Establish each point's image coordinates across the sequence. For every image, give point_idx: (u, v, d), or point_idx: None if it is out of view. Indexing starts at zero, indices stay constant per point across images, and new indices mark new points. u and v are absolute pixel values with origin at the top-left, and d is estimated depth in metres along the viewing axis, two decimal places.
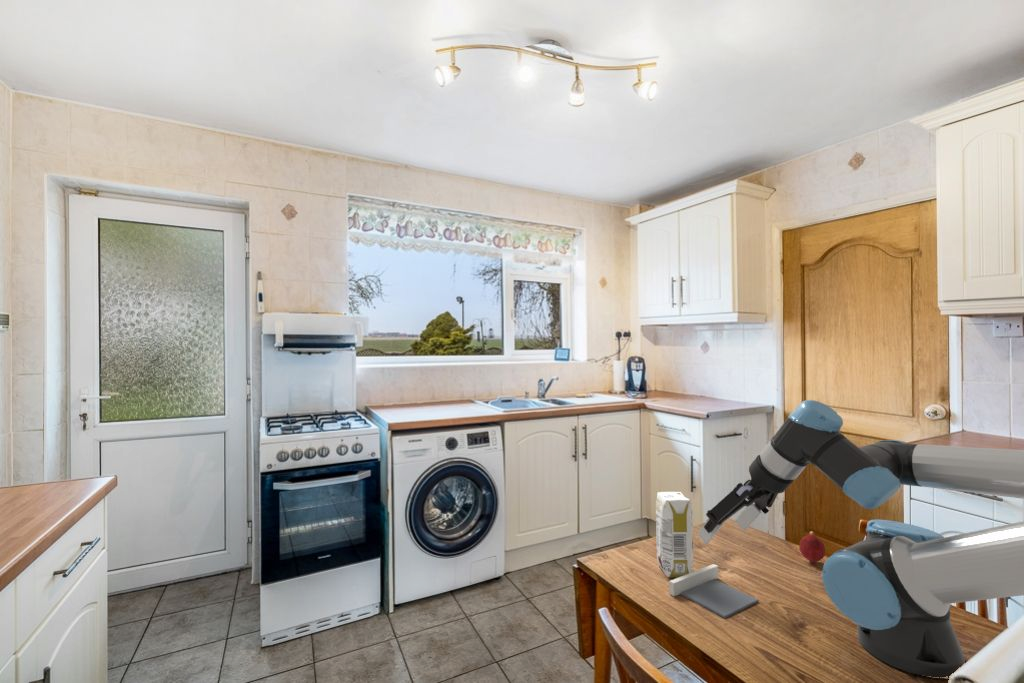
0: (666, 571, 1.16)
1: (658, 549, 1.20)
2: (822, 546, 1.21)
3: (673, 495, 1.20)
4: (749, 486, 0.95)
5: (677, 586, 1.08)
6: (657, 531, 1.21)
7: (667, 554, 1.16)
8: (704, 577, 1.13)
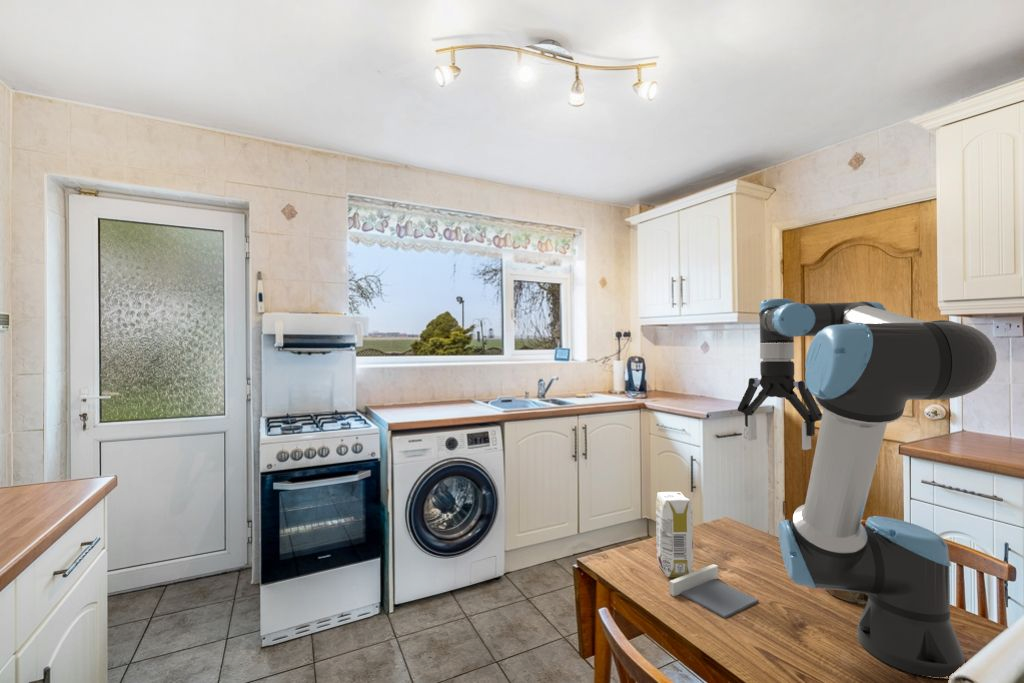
0: (666, 571, 1.16)
1: (658, 549, 1.20)
2: None
3: (673, 495, 1.20)
4: None
5: (677, 586, 1.08)
6: (657, 531, 1.21)
7: (667, 554, 1.16)
8: (704, 577, 1.13)
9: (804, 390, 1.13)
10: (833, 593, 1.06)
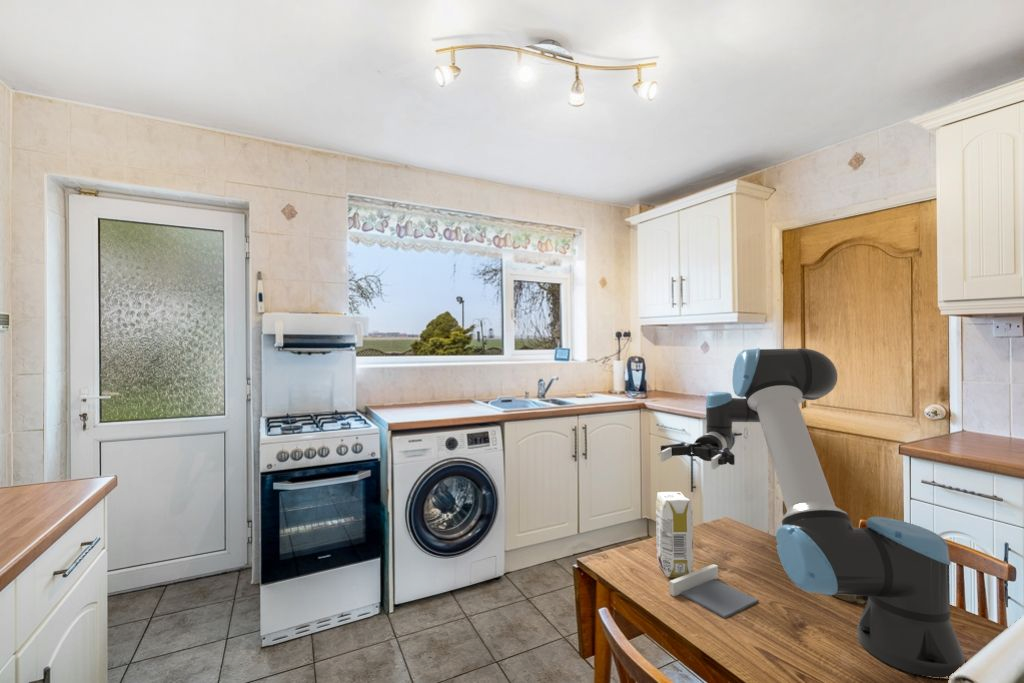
0: (666, 571, 1.16)
1: (658, 549, 1.20)
2: None
3: (673, 495, 1.20)
4: None
5: (677, 586, 1.08)
6: (657, 531, 1.21)
7: (667, 554, 1.16)
8: (704, 577, 1.13)
9: None
10: None
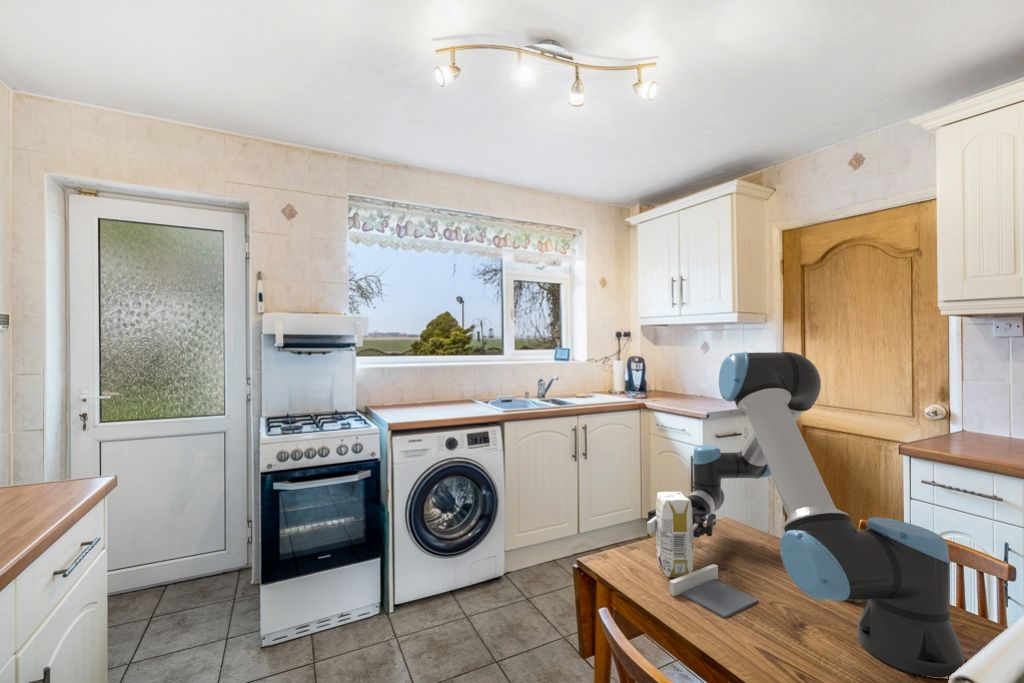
0: (666, 571, 1.16)
1: (658, 549, 1.20)
2: None
3: (673, 494, 1.20)
4: None
5: (677, 586, 1.08)
6: (657, 531, 1.21)
7: (667, 554, 1.16)
8: (704, 577, 1.13)
9: (712, 517, 1.23)
10: None
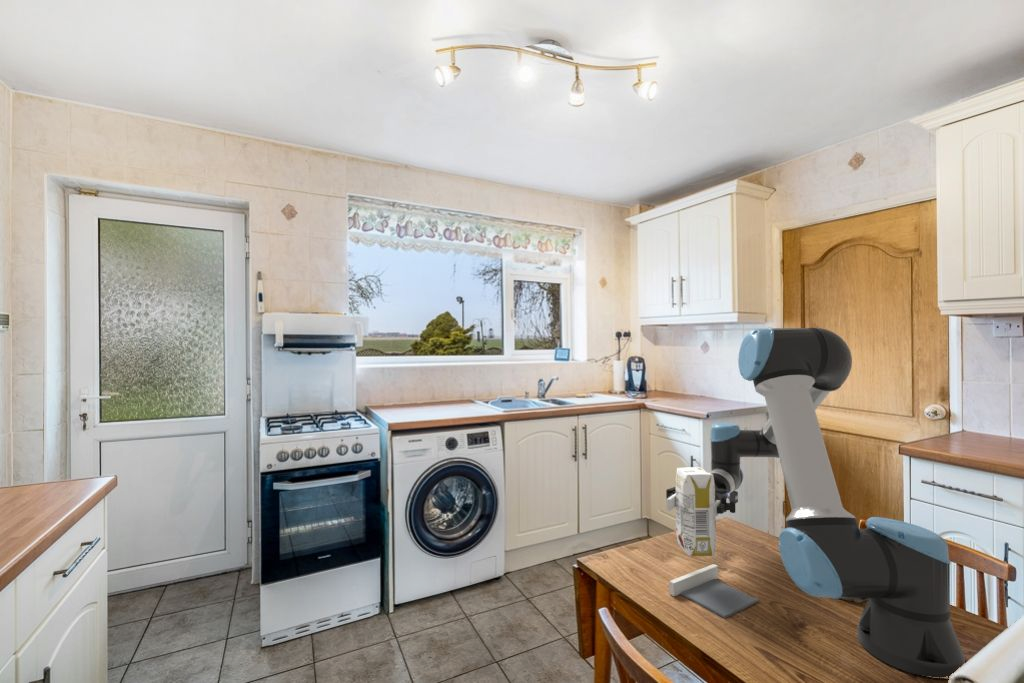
0: (687, 549, 1.10)
1: (678, 527, 1.14)
2: None
3: (694, 470, 1.14)
4: None
5: (677, 586, 1.08)
6: (677, 508, 1.15)
7: (689, 532, 1.10)
8: (704, 577, 1.13)
9: (735, 494, 1.17)
10: None
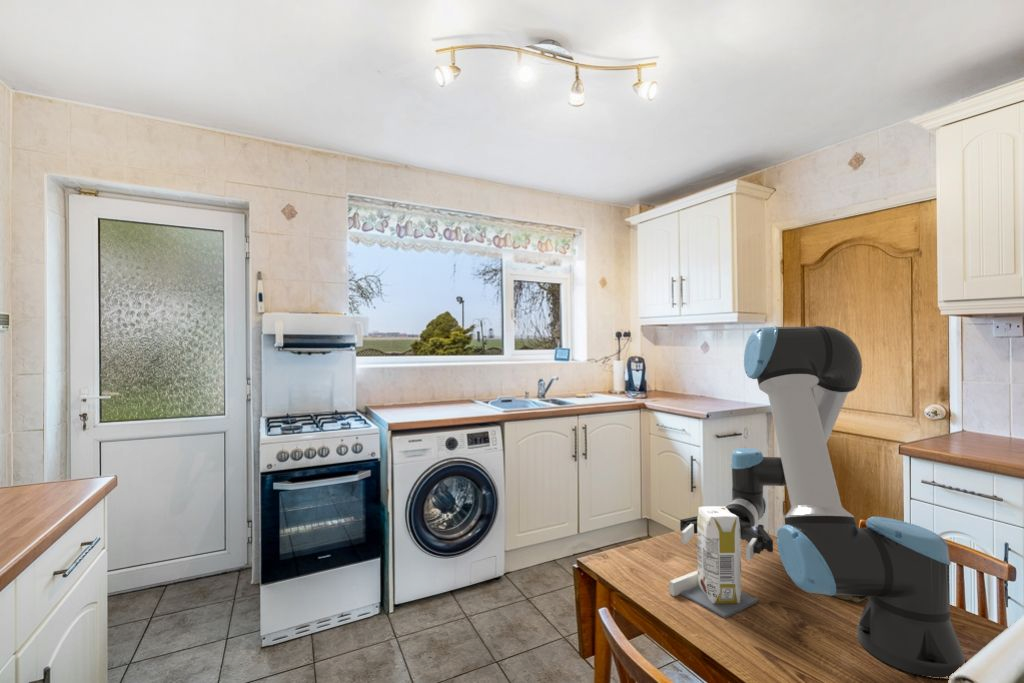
0: (711, 596, 1.03)
1: (700, 571, 1.07)
2: None
3: (717, 510, 1.07)
4: None
5: (677, 586, 1.08)
6: (699, 550, 1.08)
7: (712, 577, 1.03)
8: None
9: (763, 529, 1.10)
10: None
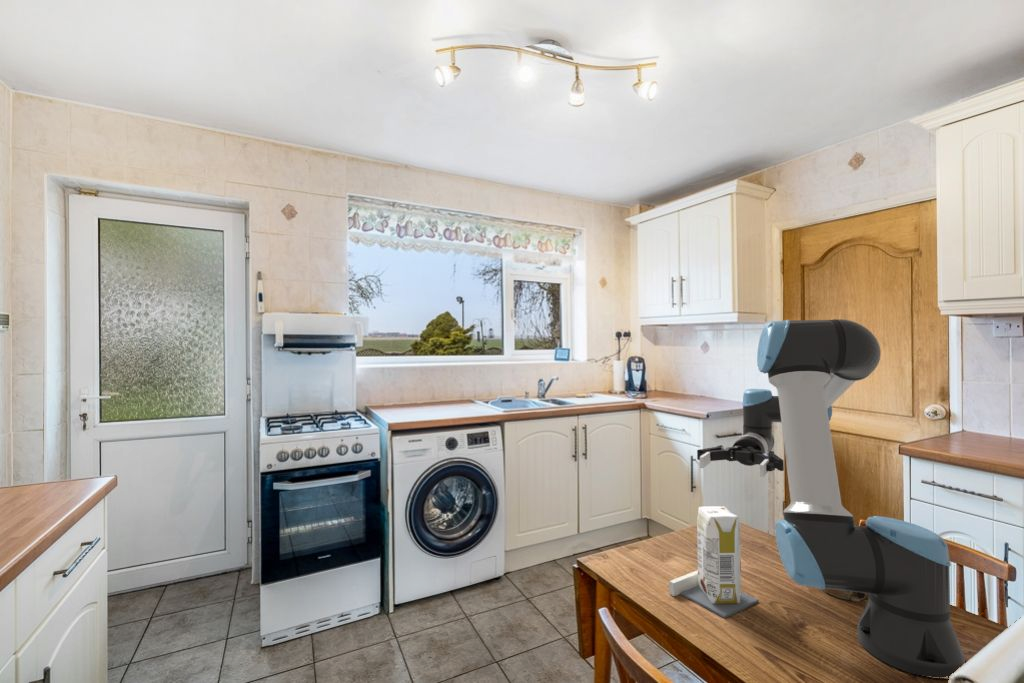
0: (711, 596, 1.03)
1: (700, 571, 1.07)
2: None
3: (717, 510, 1.07)
4: None
5: (677, 586, 1.08)
6: (699, 551, 1.08)
7: (712, 578, 1.03)
8: None
9: (773, 454, 1.21)
10: (827, 590, 1.07)
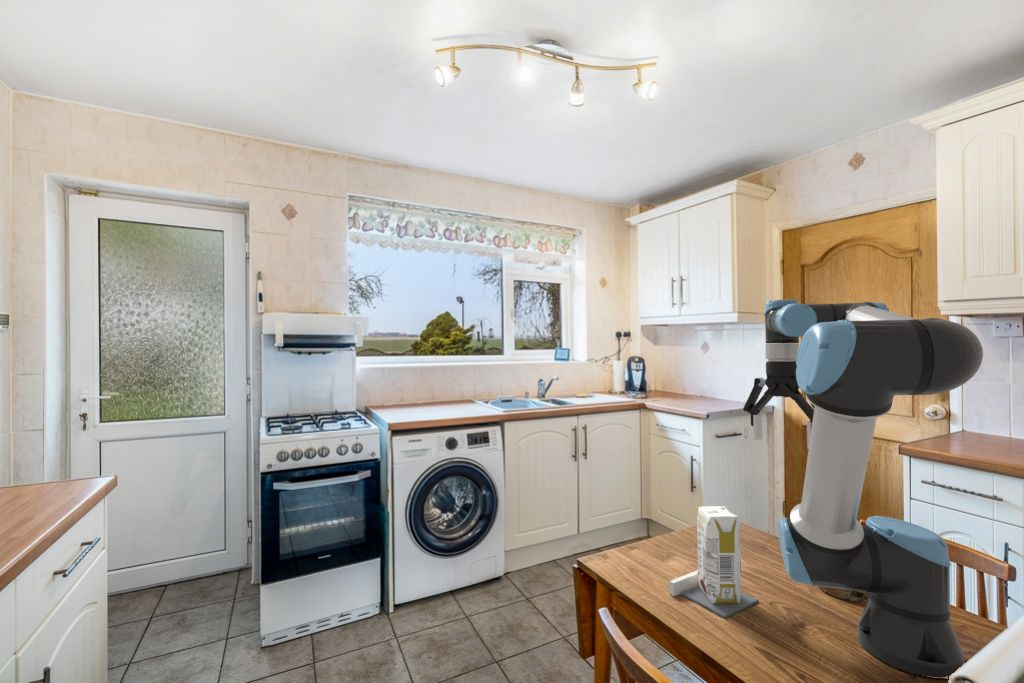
0: (711, 596, 1.03)
1: (700, 571, 1.07)
2: None
3: (717, 510, 1.07)
4: None
5: (677, 586, 1.08)
6: (699, 551, 1.08)
7: (712, 578, 1.03)
8: None
9: None
10: (826, 590, 1.07)
